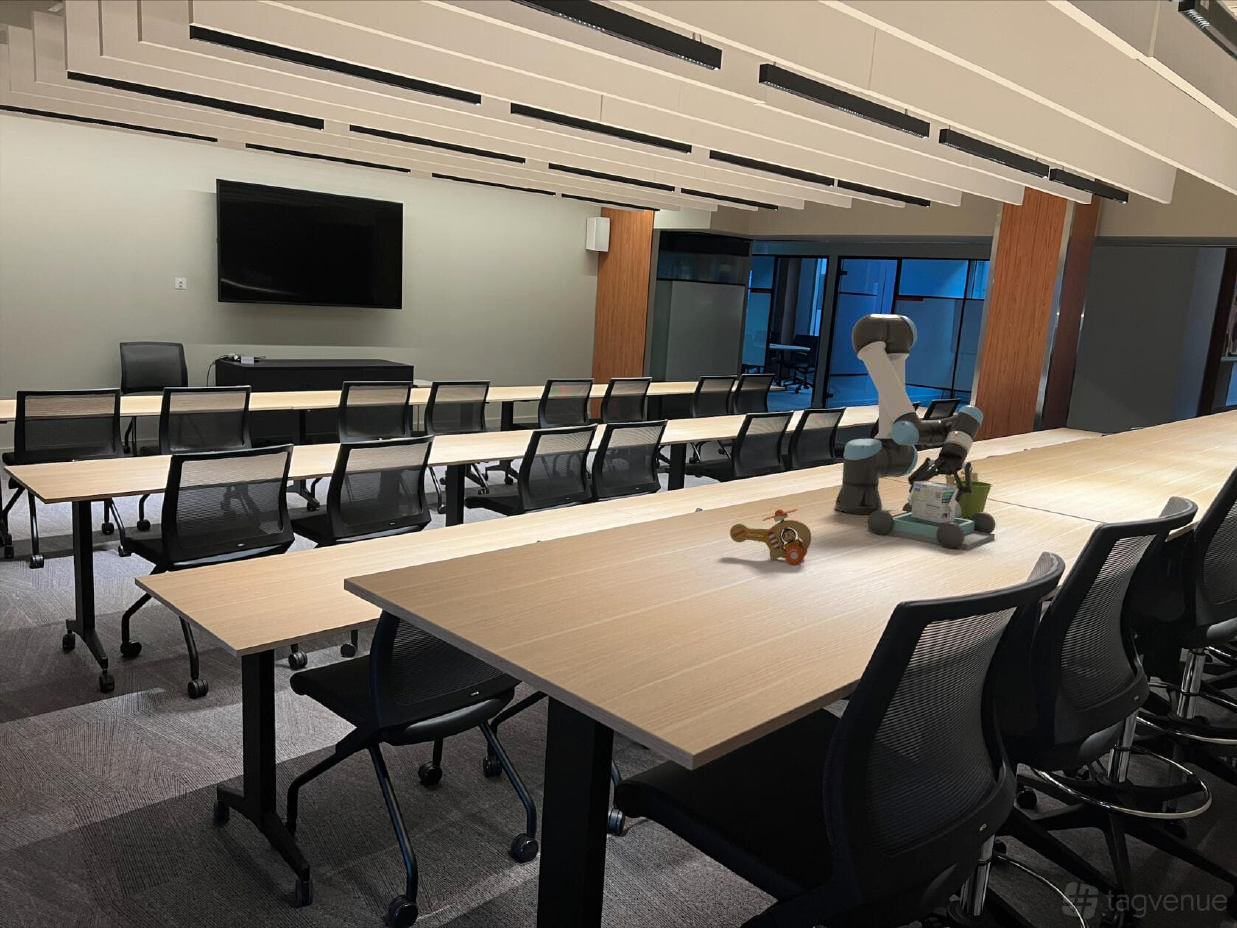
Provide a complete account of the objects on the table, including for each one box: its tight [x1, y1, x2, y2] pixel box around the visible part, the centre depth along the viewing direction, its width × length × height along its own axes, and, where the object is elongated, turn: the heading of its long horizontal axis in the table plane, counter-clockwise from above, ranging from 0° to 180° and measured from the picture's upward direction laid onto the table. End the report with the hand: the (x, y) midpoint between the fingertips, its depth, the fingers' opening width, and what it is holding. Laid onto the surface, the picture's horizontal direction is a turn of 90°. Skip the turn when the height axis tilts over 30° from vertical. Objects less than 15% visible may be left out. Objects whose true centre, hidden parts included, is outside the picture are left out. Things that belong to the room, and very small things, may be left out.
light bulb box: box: [911, 480, 957, 523], centre depth 267 cm, size 11×7×11 cm, turn 33°
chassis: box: [867, 501, 996, 551], centre depth 268 cm, size 30×25×7 cm
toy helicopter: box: [729, 509, 812, 566], centre depth 234 cm, size 8×21×14 cm, turn 71°
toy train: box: [945, 470, 979, 485], centre depth 326 cm, size 6×17×10 cm, turn 136°
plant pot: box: [954, 480, 993, 519], centre depth 297 cm, size 12×12×11 cm
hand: (929, 505), depth 265 cm, fingers closed on light bulb box, 12 cm apart
